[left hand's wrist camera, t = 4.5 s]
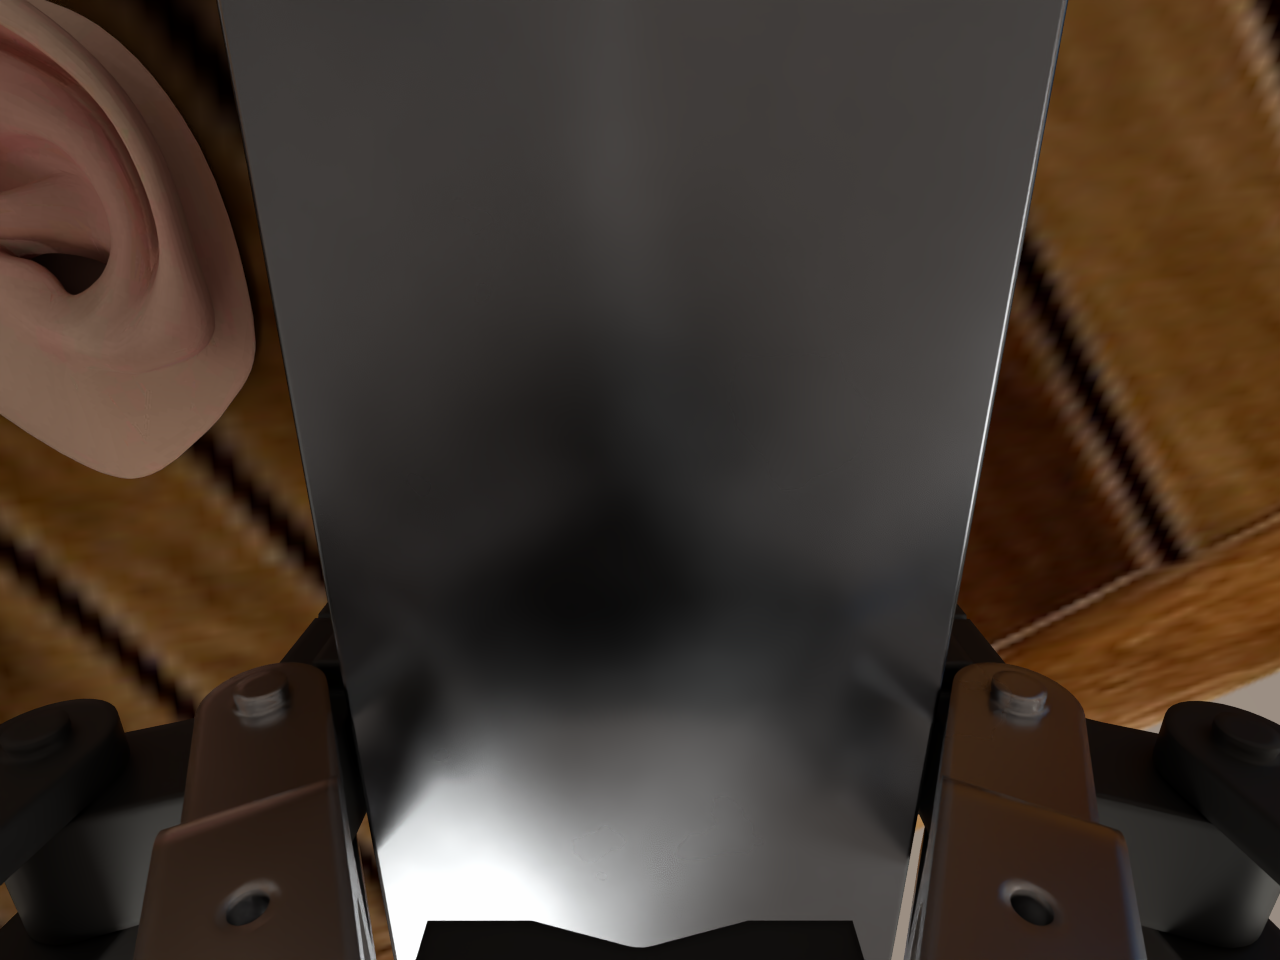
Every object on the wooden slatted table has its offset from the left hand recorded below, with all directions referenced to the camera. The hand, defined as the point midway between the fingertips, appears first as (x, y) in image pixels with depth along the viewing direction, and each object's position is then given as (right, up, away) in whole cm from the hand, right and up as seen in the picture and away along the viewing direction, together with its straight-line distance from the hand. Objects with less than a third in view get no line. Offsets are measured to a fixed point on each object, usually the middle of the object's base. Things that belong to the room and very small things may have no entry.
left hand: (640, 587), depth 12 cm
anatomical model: (-17, +9, +10) cm, 21 cm away
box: (0, +10, +1) cm, 10 cm away
